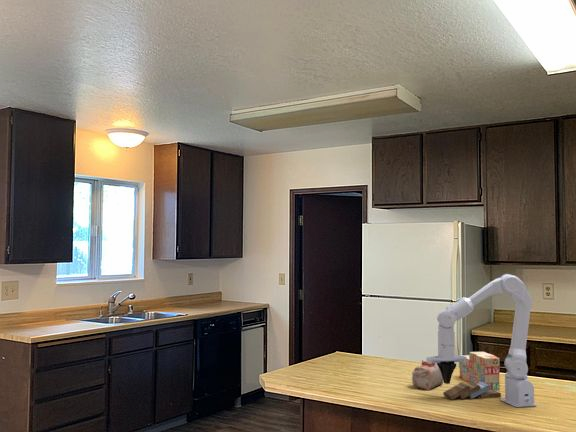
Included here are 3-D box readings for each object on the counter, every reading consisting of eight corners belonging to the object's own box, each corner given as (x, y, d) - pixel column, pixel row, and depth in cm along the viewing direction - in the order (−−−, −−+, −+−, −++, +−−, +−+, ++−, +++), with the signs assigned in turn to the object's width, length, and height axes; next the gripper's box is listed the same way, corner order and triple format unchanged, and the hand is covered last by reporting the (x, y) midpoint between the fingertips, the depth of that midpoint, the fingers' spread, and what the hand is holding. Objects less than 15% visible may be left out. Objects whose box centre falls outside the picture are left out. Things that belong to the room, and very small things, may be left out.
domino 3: (473, 395, 208) (492, 394, 210) (481, 399, 203) (500, 397, 205) (473, 390, 208) (492, 389, 210) (481, 394, 203) (500, 393, 205)
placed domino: (464, 395, 207) (483, 385, 209) (471, 399, 202) (490, 388, 204) (463, 391, 207) (481, 381, 209) (470, 394, 202) (488, 384, 204)
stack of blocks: (459, 377, 235) (458, 347, 236) (473, 377, 236) (473, 347, 237) (484, 391, 214) (484, 357, 215) (500, 390, 215) (499, 357, 216)
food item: (430, 392, 212) (430, 365, 213) (410, 388, 217) (410, 362, 218) (445, 385, 223) (444, 359, 224) (425, 381, 228) (425, 356, 228)
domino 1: (444, 396, 205) (462, 386, 207) (452, 400, 201) (470, 389, 203) (442, 392, 205) (461, 382, 207) (450, 395, 201) (468, 385, 203)
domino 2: (455, 395, 206) (473, 385, 208) (462, 399, 202) (480, 389, 203) (453, 391, 206) (471, 381, 208) (460, 395, 202) (479, 384, 203)
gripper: (458, 341, 209) (459, 379, 209) (422, 343, 206) (422, 381, 205) (469, 345, 202) (469, 384, 202) (431, 346, 199) (432, 386, 198)
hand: (446, 383), depth 203 cm, fingers closed
